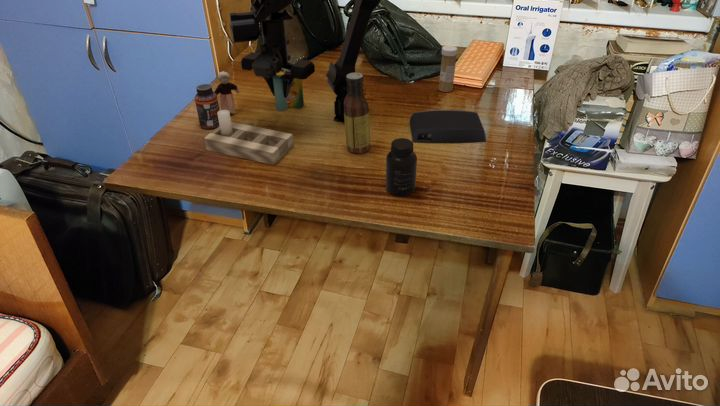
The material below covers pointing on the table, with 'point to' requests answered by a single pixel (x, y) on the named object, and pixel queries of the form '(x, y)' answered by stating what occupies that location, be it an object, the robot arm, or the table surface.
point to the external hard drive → (446, 127)
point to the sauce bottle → (356, 115)
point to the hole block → (251, 143)
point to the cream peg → (225, 123)
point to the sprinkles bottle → (447, 68)
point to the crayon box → (295, 93)
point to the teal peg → (279, 93)
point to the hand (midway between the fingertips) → (280, 96)
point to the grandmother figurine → (226, 92)
